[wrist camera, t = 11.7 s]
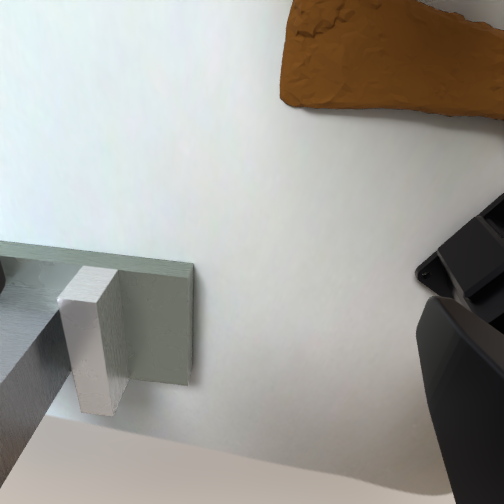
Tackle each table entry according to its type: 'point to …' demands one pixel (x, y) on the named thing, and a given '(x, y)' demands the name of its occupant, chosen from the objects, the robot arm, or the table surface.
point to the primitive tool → (391, 58)
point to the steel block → (28, 365)
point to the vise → (113, 316)
